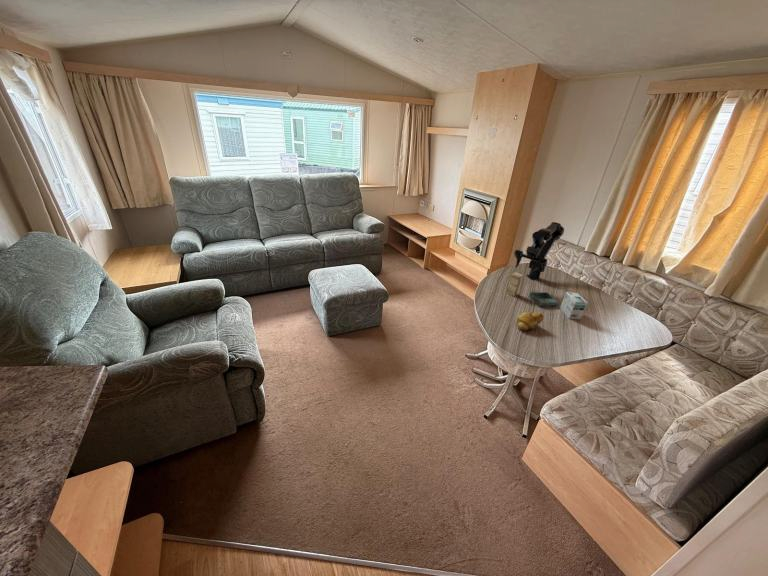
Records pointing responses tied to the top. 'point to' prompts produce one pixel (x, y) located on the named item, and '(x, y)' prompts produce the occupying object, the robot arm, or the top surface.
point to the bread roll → (529, 320)
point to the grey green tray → (543, 299)
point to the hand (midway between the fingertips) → (523, 269)
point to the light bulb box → (573, 305)
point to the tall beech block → (514, 283)
